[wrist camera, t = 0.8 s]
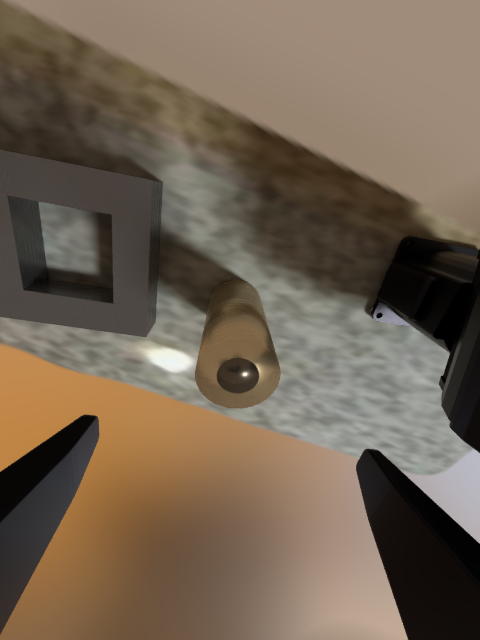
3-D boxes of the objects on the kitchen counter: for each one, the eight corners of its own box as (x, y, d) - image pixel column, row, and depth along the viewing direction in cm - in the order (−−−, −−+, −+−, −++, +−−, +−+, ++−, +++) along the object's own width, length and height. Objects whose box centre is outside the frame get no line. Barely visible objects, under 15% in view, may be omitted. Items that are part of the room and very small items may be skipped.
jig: (162, 182, 17) (151, 180, 14) (155, 321, 21) (146, 337, 19) (-8, 147, 16) (-48, 139, 13) (20, 302, 20) (-7, 315, 18)
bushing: (265, 284, 20) (290, 346, 12) (255, 330, 22) (269, 413, 13) (213, 275, 19) (200, 333, 11) (206, 323, 21) (190, 404, 13)
